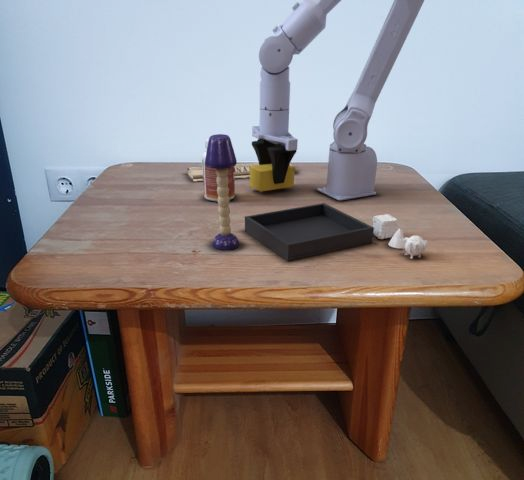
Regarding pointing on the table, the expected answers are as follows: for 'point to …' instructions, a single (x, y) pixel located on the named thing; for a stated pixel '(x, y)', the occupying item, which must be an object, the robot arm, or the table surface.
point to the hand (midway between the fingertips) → (272, 179)
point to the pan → (308, 231)
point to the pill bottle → (211, 177)
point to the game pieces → (397, 235)
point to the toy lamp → (222, 186)
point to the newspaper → (239, 171)
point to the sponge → (269, 178)
